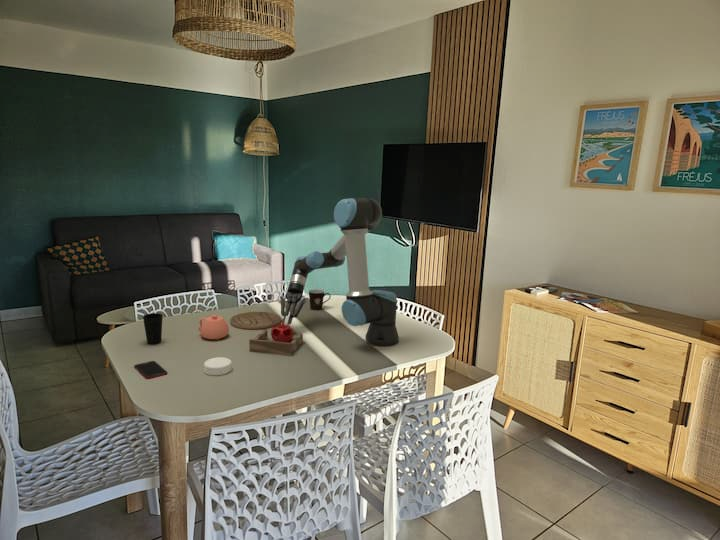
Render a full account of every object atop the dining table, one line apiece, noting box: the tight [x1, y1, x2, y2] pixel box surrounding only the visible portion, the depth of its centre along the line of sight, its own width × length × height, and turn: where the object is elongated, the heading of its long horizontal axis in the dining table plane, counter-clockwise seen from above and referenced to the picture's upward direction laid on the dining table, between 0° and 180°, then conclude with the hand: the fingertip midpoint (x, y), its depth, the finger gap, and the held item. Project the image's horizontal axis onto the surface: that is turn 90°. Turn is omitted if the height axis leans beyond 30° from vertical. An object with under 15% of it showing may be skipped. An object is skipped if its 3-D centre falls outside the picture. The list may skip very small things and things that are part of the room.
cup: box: [142, 312, 163, 346], centre depth 204 cm, size 8×8×12 cm
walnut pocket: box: [248, 329, 304, 357], centre depth 205 cm, size 16×18×5 cm
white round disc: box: [203, 356, 233, 376], centre depth 179 cm, size 10×10×4 cm
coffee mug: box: [308, 288, 332, 311], centre depth 263 cm, size 12×9×10 cm
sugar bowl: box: [197, 314, 230, 341], centre depth 214 cm, size 12×14×10 cm
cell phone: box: [133, 360, 169, 380], centre depth 177 cm, size 8×15×1 cm, turn 42°
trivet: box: [229, 311, 282, 331], centre depth 237 cm, size 25×25×2 cm
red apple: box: [270, 320, 295, 343], centre depth 211 cm, size 10×10×9 cm
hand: (285, 329), depth 217 cm, fingers closed
